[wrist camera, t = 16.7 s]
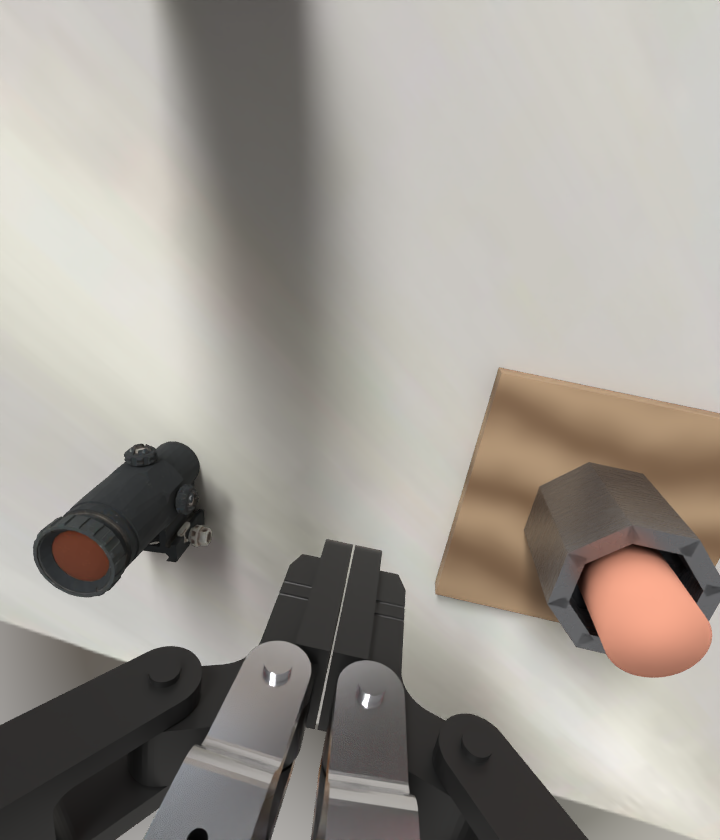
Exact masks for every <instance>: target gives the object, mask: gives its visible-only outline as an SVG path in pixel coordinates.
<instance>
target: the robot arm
mask: <svg viewBox="0 0 720 840" xmlns="http://www.w3.org/2000/svg"><path fill="white" fill-rule="evenodd" d="M352 547H353V545H352V544H347V543H343V542H338V541H333V540H329V539H326V542H325V545H324V548H323V552H322V555H321V558H318V557H313V556H309V555H304V554H302V555H301V556H300V557H299V558H298V559H296V560H295V561H294V562H293V563H292V564H291V565H290V566H289V569H288V571H287V574H286V577H285V579H284V583H283V585H282V587H281V590H280V593H279V595H278V598H277V600H276V603H275V606H274V608H273V611H272V613H271V616H270V619H269V621H268V624H267V626H266V629H265V632H264V634H263V637H262V640H261V642H260V644H259V645H258V646H257V647H255V648H254V649H253V650H252V651H251V652H250V653H249V654H248V655H247V657H245V658H244V659H242V660H239V661H237V662H234V663H230V664H224V665H211V666H201V663H200V661H199V659H198V658H197V656H196V655H195V654H194V653H192V652H191V651H189V650H187V649H185V648H181V647H175V646H166V647H160V648H157V649H153V650H151V651H149V652H147V653H145V654H143V655H141V656H139V657H137V658H135V659H133V660H131V661H129V662H127V663H125V664H123V665H121V666H119V667H116V668H115V669H112V670H110V671H109V672H106V673H105V674H102V675H100V676H98V677H96V678H95V679H92V680H90V681H88V682H86V683H85V684H82V685H80V686H78V687H77V688H74V689H72V690H71V691H68V692H66V693H65V694H62V695H60V696H58V697H56V698H54V699H52V700H50V701H48V702H47V703H44V704H42V705H40V706H38V707H36V708H34V709H32V710H30V711H28V712H26V713H24V714H22V715H20V716H18V717H16V718H14V719H12V720H10V721H8V722H6V723H4V724H2V725H0V840H116V839H117V838H118V837H120V836H121V835H122V834H124V833H125V832H127V831H128V830H129V829H131V828H132V827H134V826H135V825H136V824H138V823H139V822H140V821H142V820H143V819H144V818H146V817H147V816H149V815H150V814H151V813H153V812H154V811H156V810H157V809H158V808H159V809H158V811H157V813H156V815H155V817H154V819H153V821H152V823H151V824H150V826H149V828H148V830H147V832H146V834H145V836H144V838H143V840H271V837H272V834H273V831H274V828H275V825H276V821H277V818H278V815H279V812H280V809H281V806H282V802H283V799H284V796H285V793H286V790H287V786H288V783H289V780H290V777H291V774H292V771H293V767H294V764H295V759H296V757H297V755H298V753H299V751H300V748H301V744H302V740H303V736H304V731H305V727H307V728H312V729H315V725H316V720H317V715H318V711H319V706H320V701H321V697H322V692H323V687H324V682H325V678H326V673H327V668H328V664H329V659H330V654H331V650H332V645H333V640H334V635H335V631H336V626H337V621H338V617H339V612H340V607H341V602H342V597H343V593H344V588H345V583H346V578H347V572H348V567H349V562H350V557H351V552H352ZM381 556H382V551H381V550H376V549H371V548H367V547H362V546H357V545H355V550H354V554H353V559H352V564H351V569H350V574H349V578H348V583H347V588H346V593H345V598H344V602H343V607H342V612H341V617H340V622H339V627H338V631H337V636H336V641H335V646H334V651H333V656H332V660H331V665H330V670H329V675H328V680H327V685H326V690H325V695H324V700H323V705H322V710H321V715H320V720H319V725H318V730H322V731H326V737H325V742H324V747H323V753H322V758H321V762H320V767H319V773H318V782H317V790H316V799H315V808H314V816H313V825H312V834H311V840H588V839H587V837H586V836H585V835H584V834H583V832H582V831H581V830H580V829H579V828H578V826H577V825H576V824H575V823H574V822H573V820H572V819H571V818H570V817H569V815H568V814H567V813H566V812H565V811H564V809H563V808H562V807H561V806H560V804H559V803H558V802H557V801H556V800H555V798H554V797H553V796H552V795H551V793H550V792H549V791H548V790H547V789H546V787H545V786H544V785H543V784H542V782H541V781H540V780H539V779H538V778H537V776H536V775H535V774H534V773H533V771H532V770H531V769H530V768H529V767H528V765H527V764H526V763H525V762H524V760H523V759H522V758H521V757H520V756H519V754H518V753H517V752H516V751H515V749H514V748H513V747H512V746H511V745H510V743H509V742H508V741H507V740H506V738H505V737H504V736H503V735H502V734H501V732H500V731H499V730H498V729H497V728H496V727H495V726H493V725H492V724H491V723H490V722H488V721H487V720H485V719H483V718H481V717H478V716H475V715H472V714H457V715H454V716H451V717H450V718H448V719H447V720H446V721H445V720H443V719H441V718H439V717H438V716H436V715H434V714H432V713H430V712H429V711H427V710H425V709H424V708H422V707H421V706H420V705H419V704H417V703H416V702H415V701H414V700H413V699H412V697H411V696H410V695H409V693H408V692H407V690H406V688H405V686H404V684H403V680H402V675H401V668H402V648H403V629H404V607H405V588H404V586H403V584H402V582H401V580H400V577H399V575H398V574H393V573H388V572H384V571H380V564H381Z"/></svg>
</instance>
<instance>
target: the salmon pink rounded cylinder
mask: <svg viewBox="0 0 720 840" xmlns="http://www.w3.org/2000/svg"><path fill="white" fill-rule="evenodd" d="M577 585H578V587H579V590H580V592H581V594H582V597H583V599H584V602H585V604H586V606H587V609H588V611H589V614H590V616H591V618H592V621H593V623H594V626H595V628H596V630H597V633H598V635H599V638H600V640H601V643H602V645H603V647H604V650H605V652H606V654H607V656H608V658H609V659H610V660H611V661H612V662H613V663H614V664H615V665H616V666H617V667H618V668H620V669H622V670H623V671H625V672H628V673H630V674H633V675H637V676H642V677H666V676H671V675H674V674H678V673H680V672H683V671H685V670H687V669H689V668H691V667H692V666H694V665H695V664H696V663H697V662H699V661H700V660H701V659H702V658H703V657H704V655H705V654H706V652H707V651H708V649H709V647H710V644H711V641H712V630H711V626H710V623H709V621H708V620H707V618H706V617H705V615H704V614H703V612H702V611H701V610H700V608H699V607H698V605H697V604H696V602H695V601H694V600H693V598H692V597H691V595H690V594H689V593H688V591H687V590H686V588H685V587H684V585H683V584H682V583H681V581H680V580H679V578H678V577H677V576H676V574H675V573H674V571H673V570H672V568H671V567H670V566H669V564H668V563H667V561H666V560H665V559H664V557H663V556H662V554H661V553H660V551H659V550H658V549H654V548H649V547H645V546H640V545H636V544H631V545H628V546H626V547H624V548H621V549H619V550H617V551H614V552H612V553H610V554H608V555H605V556H603V557H601V558H598V559H596V560H594V561H591V562H589V563H587V564H585V565H584V567H583V570H582V572H581V574H580V577H579V579H578V581H577Z"/></svg>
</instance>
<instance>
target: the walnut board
mask: <svg viewBox="0 0 720 840" xmlns="http://www.w3.org/2000/svg"><path fill="white" fill-rule="evenodd" d="M588 462H592V463H596V464H601V465H606V466H610V467H615V468H620V469H624V470H629V471H634V472H638V473H643V474H644V475H645V476H646V477H647V479H648V480H649V481H650V482H651V483H652V484H653V486H654V487H655V488H656V489H657V490H658V491H659V493H660V494H661V495H662V496H663V497H664V498H665V500H666V501H667V502H668V503H669V504H670V505H671V507H672V508H673V509H674V510H675V511H676V512H677V514H678V515H679V516H680V517H681V518H682V519H683V521H684V522H685V523H686V524H687V525H688V526H689V528H690V529H691V530H692V531H693V532H694V533H695V535H696V536H697V537H698V538H699V539H700V541H701V543H702V544H703V546H704V548H705V550H706V552H707V553H708V555H709V557H710V559H711V561H712V562H713V564H714V566H716V564H717V562H718V560H719V559H720V413H715V412H710V411H705V410H701V409H696V408H691V407H686V406H681V405H677V404H672V403H667V402H662V401H657V400H653V399H648V398H643V397H638V396H633V395H629V394H624V393H619V392H614V391H609V390H605V389H600V388H595V387H590V386H586V385H581V384H576V383H571V382H566V381H562V380H557V379H552V378H547V377H542V376H538V375H533V374H528V373H523V372H518V371H514V370H509V369H504V368H499V369H498V372H497V376H496V379H495V382H494V386H493V389H492V392H491V396H490V399H489V403H488V406H487V409H486V413H485V416H484V419H483V423H482V426H481V430H480V433H479V436H478V440H477V443H476V446H475V450H474V453H473V457H472V460H471V463H470V467H469V470H468V473H467V477H466V480H465V483H464V487H463V490H462V494H461V497H460V500H459V504H458V507H457V510H456V514H455V517H454V521H453V524H452V527H451V531H450V534H449V537H448V541H447V544H446V548H445V551H444V554H443V558H442V561H441V564H440V568H439V571H438V575H437V578H436V581H435V594H438V595H442V596H446V597H451V598H455V599H459V600H464V601H468V602H473V603H477V604H481V605H486V606H490V607H494V608H499V609H503V610H507V611H512V612H516V613H520V614H525V615H529V616H533V617H538V618H542V619H546V620H551V621H555V622H559V621H558V619H557V618H556V616H555V615H554V613H553V612H552V610H551V609H550V607H549V606H548V604H547V602H546V599H545V596H544V592H543V589H542V586H541V583H540V580H539V577H538V573H537V570H536V567H535V564H534V561H533V558H532V554H531V551H530V548H529V545H528V542H527V538H526V535H525V532H524V528H525V525H526V522H527V519H528V517H529V514H530V511H531V508H532V506H533V503H534V500H535V497H536V495H537V492H538V489H539V486H541V485H543V484H545V483H547V482H549V481H551V480H553V479H555V478H557V477H559V476H561V475H564V474H566V473H568V472H570V471H572V470H574V469H576V468H578V467H580V466H582V465H584V464H586V463H588ZM559 623H560V622H559Z"/></svg>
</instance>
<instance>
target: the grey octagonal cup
mask: <svg viewBox="0 0 720 840" xmlns="http://www.w3.org/2000/svg"><path fill="white" fill-rule="evenodd" d="M524 532H525V535H526V538H527V542H528V545H529V548H530V551H531V554H532V558H533V561H534V564H535V567H536V570H537V573H538V577H539V580H540V583H541V586H542V589H543V592H544V596H545V599H546V602H547V604H548V606H549V607H550V609H551V610H552V612H553V613H554V615H555V616H556V618H557V619H558V621H559V622H560V624H561V625H562V627H563V628H564V629H565V631H566V632H567V634H568V635H569V637H570V638H571V640H572V641H573V643H574V644H575V646H576V647H579V648H583V649H587V650H592V651H596V652H600V653H605V654H606V652H605V650H604V647H603V645H602V643H601V640H600V638H599V635H598V633H597V630H596V628H595V626H594V623H593V621H592V618H591V616H590V614H589V611H588V609H587V606H586V604H585V602H584V599H583V597H582V594H581V592H580V590H579V587H578V585H577V581H578V579H579V577H580V574H581V572H582V570H583V567H584V565H585V564H587V563H589V562H591V561H594V560H596V559H598V558H601V557H603V556H605V555H608V554H610V553H612V552H614V551H617V550H619V549H621V548H624V547H626V546H628V545H631V544H636V545H640V546H645V547H649V548H654V549H658V550H659V551H660V553H661V554H662V556H663V557H664V559H665V560H666V561H667V563H668V564H669V566H670V567H671V568H672V570H673V571H674V573H675V574H676V576H677V577H678V578H679V580H680V581H681V583H682V584H683V585H684V587H685V588H686V590H687V591H688V593H689V594H690V595H691V597H692V598H693V600H694V601H695V602H696V604H697V605H698V607H699V608H700V610H701V611H702V612H703V614H704V615H705V617H706V618H707V620H708V621H709V620H710V618H711V617H712V615H713V613H714V611H715V610H716V608H717V606H718V604H719V603H720V575H719V573H718V571H717V570H716V568H715V566H714V564H713V562H712V561H711V559H710V557H709V555H708V553H707V552H706V550H705V548H704V546H703V544H702V543H701V541H700V539H699V538H698V537H697V536H696V535H695V533H694V532H693V531H692V530H691V529H690V528H689V526H688V525H687V524H686V523H685V522H684V521H683V519H682V518H681V517H680V516H679V515H678V514H677V512H676V511H675V510H674V509H673V508H672V507H671V505H670V504H669V503H668V502H667V501H666V500H665V498H664V497H663V496H662V495H661V494H660V493H659V491H658V490H657V489H656V488H655V487H654V486H653V484H652V483H651V482H650V481H649V480H648V479H647V477H646V476H645V475H644V474H643V473H638V472H634V471H629V470H624V469H620V468H615V467H610V466H606V465H601V464H596V463H592V462H588V463H586V464H584V465H582V466H580V467H578V468H576V469H574V470H572V471H570V472H568V473H566V474H564V475H561V476H559V477H557V478H555V479H553V480H551V481H549V482H547V483H545V484H543V485H541V486H539V489H538V492H537V495H536V497H535V500H534V503H533V506H532V508H531V511H530V514H529V517H528V519H527V522H526V525H525V528H524Z"/></svg>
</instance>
